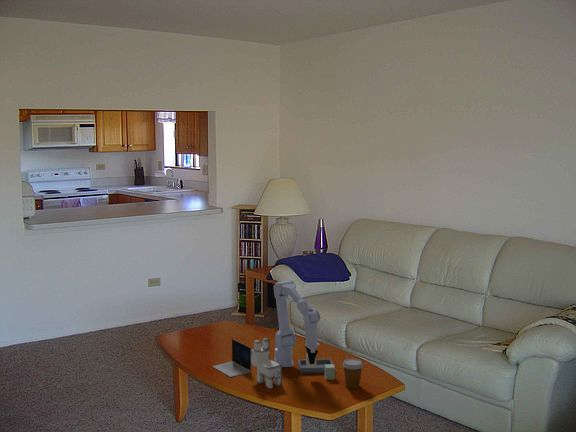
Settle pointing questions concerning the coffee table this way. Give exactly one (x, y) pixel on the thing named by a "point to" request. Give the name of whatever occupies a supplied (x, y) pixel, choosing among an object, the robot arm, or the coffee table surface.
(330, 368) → the sage block
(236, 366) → the laptop
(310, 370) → the grey tray
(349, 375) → the disposable coffee cup
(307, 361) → the cream block
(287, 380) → the coffee table surface
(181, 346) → the coffee table surface
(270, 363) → the toy llama
